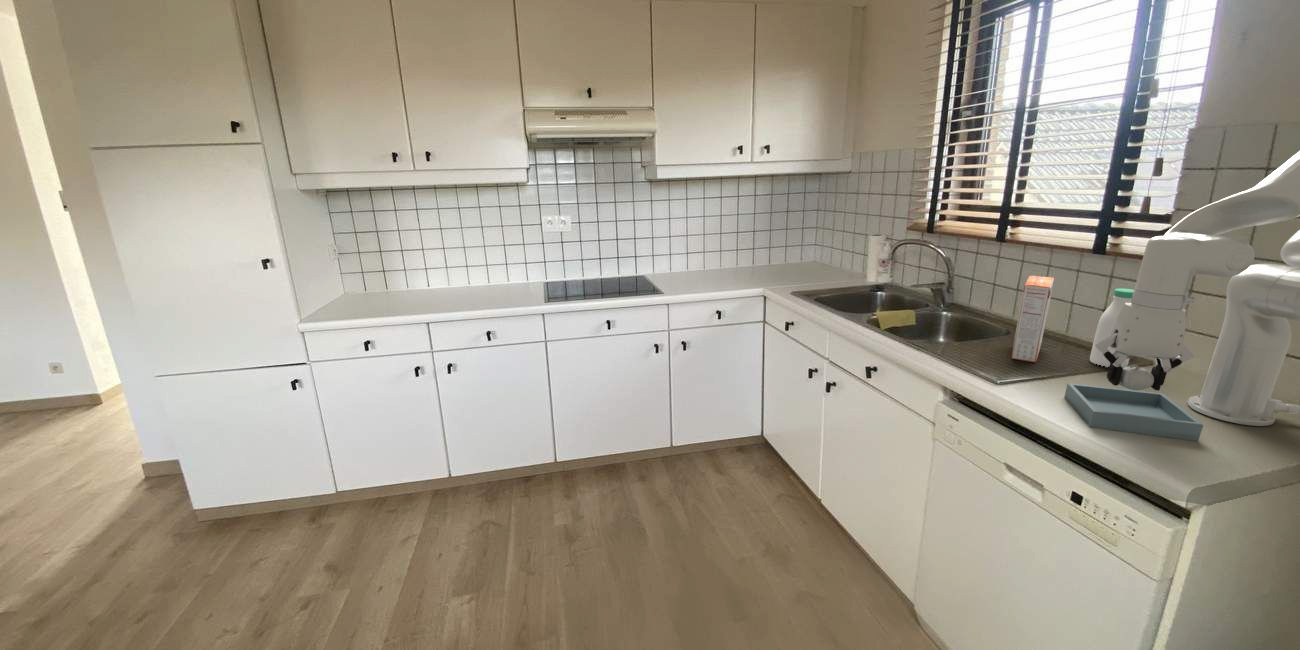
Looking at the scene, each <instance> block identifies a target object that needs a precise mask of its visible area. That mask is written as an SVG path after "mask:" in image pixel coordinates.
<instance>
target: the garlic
mask: <svg viewBox="0 0 1300 650" xmlns="http://www.w3.org/2000/svg"><path fill="white" fill-rule="evenodd" d="M1153 383H1154V377H1153V375H1152V373H1151V371H1150V370H1147V369H1145V368H1142V367H1139V366H1138V364H1131V365H1128V366H1127V367H1124V368H1123V371H1122V375H1121V378H1120V382H1119V385H1120V386H1122V387H1124V388H1125V389H1127V390H1136V391H1144V390H1147V389H1149V388H1152V387H1151V386H1152V385H1153Z"/></svg>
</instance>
